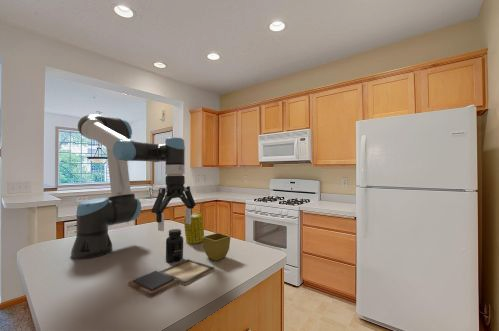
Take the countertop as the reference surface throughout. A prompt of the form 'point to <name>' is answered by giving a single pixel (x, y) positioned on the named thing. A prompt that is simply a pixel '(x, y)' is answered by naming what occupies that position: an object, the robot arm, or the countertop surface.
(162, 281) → the pad
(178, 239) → the supplement bottle
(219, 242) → the flower pot
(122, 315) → the countertop surface
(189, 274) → the board
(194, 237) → the food
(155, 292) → the ink tray
